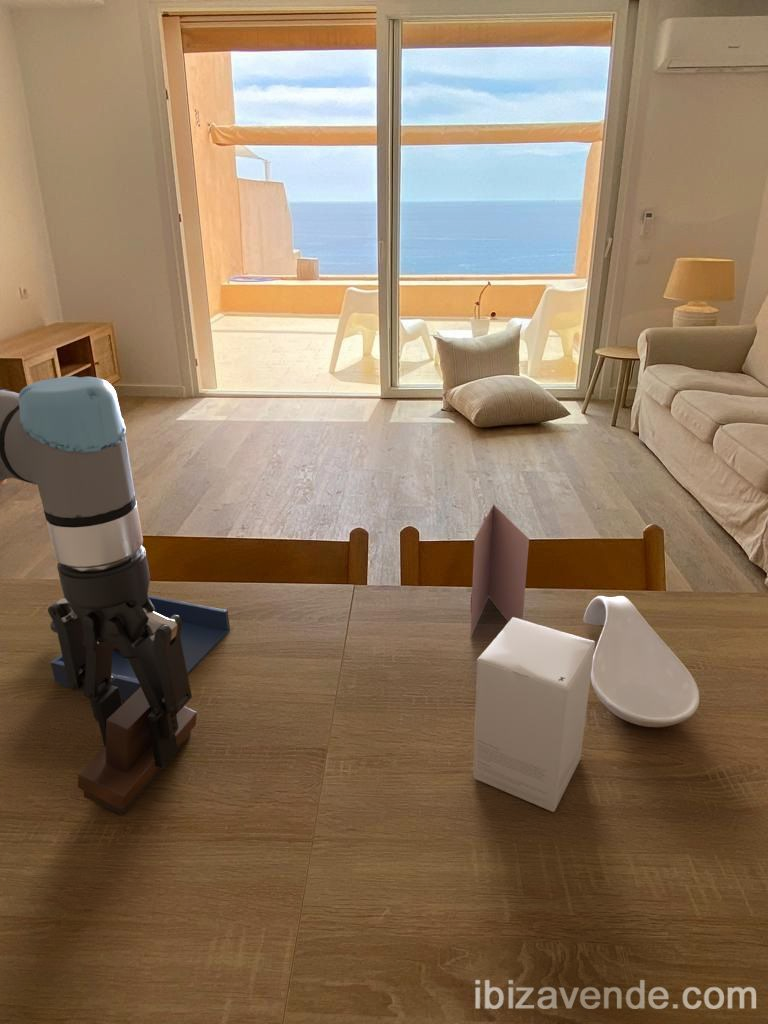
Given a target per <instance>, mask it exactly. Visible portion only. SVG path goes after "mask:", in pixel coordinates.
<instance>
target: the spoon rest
mask: <svg viewBox="0 0 768 1024" xmlns="http://www.w3.org/2000/svg"><path fill="white" fill-rule="evenodd" d="M582 620H583V623H584V624H585V625H589V626H603V628H602V631H601V634H600V636H599V639H598V641H597V644H596V647H595V648H594V655H593V663H592V670H591V678H590V682H591V684H592V689H593V690H594V693H595V695H596V696H597V698H598V700H599V701H600V702H601V703H602V705H603V706H604V707H605V708H606V709H607V710H608V711H610V712H611V713H612V714H613V715H615V716H617V717H618V718H619V719H621V720H623V721H626V722H628V723H631V724H634V725H637V726H640V727H641V726H642V727H647V728H665V727H669V726H673V725H677V724H680V723H682V722H684V721H686V720H688V719H689V718H690V717H692V716H693V715H694V714H695V713H696V712H697V710H698V708H699V705H700V691H699V688H698V685H697V682H696V680H695V679H694V676H692V674H691V671H689V670H688V668H687V667H686V665H684V663H683V662H682V661H681V660H680V658H679V657H678V656H677V655H676V654H675V652H674V651H673V650H672V649H671V648H670V647H669V646H668V644H666V643H665V642H664V640H663V639H662V638H661V637H660V635H658V634H657V632H656V631H655V630H654V629H653V628H652V627H651V625H650V624H649V623H648V622H647V621H646V619H645V618H644V616H642V614H641V613H640V612H639V610H638V609H637V607H635V605H634V603H632V601H631V600H630V599H628V597H626V596H624V595H618V596H610V597H609V596H605V595H598V596H595V597H594V598H593V599H592V600H591V601H590V603H589V604H588V605H587V608H586V610H585V613H584V615H583V619H582Z"/></svg>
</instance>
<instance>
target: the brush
mask: <svg viewBox="0 0 768 1024" xmlns="http://www.w3.org/2000/svg"><path fill="white" fill-rule="evenodd" d="M150 710H151V708H150V706H149V703H148V701H147V699H146V697H145V695H144V693H143V690H142V688H141V687H140V688H139V689H138V690H137V691H136V692H135V693H134V694H133V695H132V696H131V697H130V698H129V699H128V700H127V701H126V702H125V701H124V702H123V703H122V705H121V706H120V707H119V708H118V709H117V710H116V711H115V712H114V713H113V714H112V715H111V716H110V717H109V718H108V719H107V721H106V746H105V747H104V746H103V748H102V749H101V750H99V752H98V753H97V754H96V755H95V756H94V757H93V758H92V759H91V760H90V761H89V762H88V763H87V764H86V765H85V766H83V768H82V769H81V770H80V771H79V772H78V773H77V788H78V789H80V790H82V791H83V798H85V799H87V800H89V801H91V802H93V803H95V804H98V805H99V806H102V807H103V808H106V809H107V810H110V811H111V812H113V813H115V814H117V815H120V816H124V815H125V814H126V813H127V812H128V810H129V809H130V808H131V807H132V806H133V805H134V803H135V802H136V801H137V800H138V799H139V797H141V795H142V794H143V793H144V792H145V791H146V789H147V788H148V787H149V786H150V785H151V783H152V782H153V781H154V780H155V779H156V777H157V776H158V775H159V774H160V773H161V772H162V770H164V768H165V767H166V766H167V764H169V762H170V761H171V760H172V759H173V758H174V756H175V755H176V754H177V753H178V752H179V750H180V749H181V748H182V747H183V746H184V745H185V744H186V742H187V741H189V739H190V738H191V734H192V733H191V732H192V730H193V729H194V728H195V727H196V724H197V716H198V715H197V714H198V712H197V711H195V710H193V709H191V708H188V707H187V706H184V707H183V708H182V709H181V710H180V711H179V712H178V713H177V720H178V726H179V727H178V730H177V732H176V733H175V737H176V742H177V748H178V750H177V751H176V752H175V753H174V755H173V756H172V757H171V758H170V759H169V761H168V762H167V763H166V764H165V765H164V766H163V768H160V767H157V766H156V764H155V759H154V754H153V749H152V744H151V739H150V734H149V729H148V724H147V719H146V715H147V714H148V712H149V711H150Z"/></svg>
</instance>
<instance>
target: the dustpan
mask: <svg viewBox="0 0 768 1024" xmlns="http://www.w3.org/2000/svg"><path fill="white" fill-rule="evenodd" d="M148 597H149V599H150V601H151V603H152V604H153V606H154V608H155V612H156V613H158V614H160V615H162V616H164V617H166V618H168V619H169V618H170V617H171V616H173V615H178V616H179V617H180V618H181V619H182V628H181V633H180V639H181V644H182V649H183V654H184V659H185V664H186V669H187V675H188V676H189V674H190V673H191V672H192V671H193V670H194V669H195V668H196V667H197V666H198V665H199V664H200V663H201V661H203V660H204V659H205V657H206V656H207V655H208V654H209V653H210V652H211V651H212V650H213V649H214V648H215V647H216V646H217V645H218V644H219V643H220V642H221V641H222V640H223V639H224V637H225V636H226V635H227V634H228V633H229V632H230V631H231V626H230V619H229V610H228V609H223V608H217V607H212V606H207V605H201V604H196V603H191V602H185V601H180V600H176V599H170V598H165V597H161V596H160V597H159V596H154V595H149V594H148ZM50 630H51V631H52V632H53V633H55V634H58V633H57V628H56V626H55V624H54V622H53V620H52V621H51V622H50ZM50 667H51V670H52V675H53V678H54V682H55V683H58V685H59V686H62V687H66V688H70V687H69V684H68V680H67V675H66V670H65V666H64V661H63V656H62V653H61V654H59V655H58V656H57V657H55V658H54V659H52V661H50ZM81 671H82V670H81V669H80V670H79V673H80V672H81ZM111 677H113V678H112V679H111V680H113V679H114V678H115V680H114V681H113V682H112V683H111V684H110V685H109V686H107V687H108V689H109V688H110V687H111V686H115V687H118V689H119V694H120V699H121V702H124V703H125V702H126V701H127V700H128V699H129V698H130V697H131V696H132V695H133V694H134V693H135V692H136V691H137V690H138V689H139V688H140V687H141V686H140V684H139V682H138V680H137V677H136V675H135V673H134V671H133V669H132V666H131V664H130V662H129V660H128V658H123V657H122V655H121V653H120V651H119V650H116V649H114V648H113V656H112V669H111ZM70 689H71V688H70ZM78 691H82V690H81V689H79V690H78ZM82 692H83V691H82Z"/></svg>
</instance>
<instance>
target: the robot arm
mask: <svg viewBox="0 0 768 1024" xmlns="http://www.w3.org/2000/svg"><path fill="white" fill-rule="evenodd" d="M126 432H127V427H126V423H125V421H124V418H123V417H122V413H121V409H120V405H119V401H118V395H117V392H116V390H115V388H114V387H113V386H112V384H111V383H109V381H107V380H105V379H103V378H101V377H96V376H71V375H70V376H60V377H54V378H48V379H43V380H39V381H36V382H33V383H30V384H27V385H26V386H25V387H23V388H22V389H21V390H20V392H19V393H18V392H15V391H11V390H9V389H6V388H0V482H2V481H4V480H9V479H14V480H18V481H21V482H24V483H25V482H26V483H29V484H32V485H37V488H38V493H39V496H40V500H41V504H42V510H43V513H44V517H45V521H46V526H47V530H48V531H47V532H48V535H49V539H50V544H51V545H50V546H51V548H52V553H53V559H55V560H56V561H57V564H56V568H57V572H58V577H59V580H60V585H61V590H62V593H63V597H62V598H60V599H58V600H57V601H56V602H54V603H52V604H51V605H50V606H48V607H47V612H48V614H49V616H50V618H51V620H52V621H53V622H54V624H55V626H56V628H57V633H56V634H57V637H58V641H59V647H60V651H61V654H62V656H63V661H64V666H65V670H66V675H67V680H68V684H69V687H70V689H71V690H72V691H74V692H77V691H81V690H82V692H84V696H85V697H86V698H87V699H88V700H89V702H90V706H91V710H92V714H93V717H94V719H95V721H97V722H98V725H99V729H100V733H101V738H102V742H103V748H104V747H105V746H106V721H107V719H108V718H109V717H110V716H111V715H112V714H113V713H114V712H115V711H116V710H117V709H118V708H119V707H120V706H121V705H122V704H123V703H122V701H121V699H120V694H119V689H118V687H115V686H111V687H110V688H109V689H108V687H107V686H109V685H110V684H111V683H112V682H113V681H114V680H115V678H114V679H113V680H111V679H112V678H113V677H111V669H112V656H113V644H115V645H117V647H118V649H119V651H120V653H121V655H122V657H123V658H128V660H129V662H130V664H131V666H132V669H133V671H134V673H135V675H136V677H137V680H138V682H139V684H140V686H141V688H142V690H143V693H144V695H145V697H146V699H147V701H148V703H149V706H150V708H151V710H150V711H149V712H148V714H147V715H146V719H147V724H148V729H149V734H150V739H151V744H152V749H153V754H154V759H155V764H156V766H157V767H160V768H163V766H164V765H165V764H166V763H167V762H168V761H169V759H170V758H171V757H172V756H173V755H174V753H175V752H176V751H177V750H178V748H177V742H176V737H175V733H176V732H177V730H178V727H179V726H178V720H177V713H178V712H179V711H180V710H181V709H182V708H183V707H186V705H187V703H188V702H190V701H191V699H192V697H193V696H192V690H191V685H190V680H189V674H188V675H187V669H186V664H185V659H184V654H183V649H182V644H181V639H180V633H181V628H182V619H181V618H180V617H179V616H178V615H173V616H171V617H170V618H169V619H168V618H166V617H164V616H162V615H160V614H158V613H156V612H155V608H154V606H153V604H152V603H151V601H150V599H149V597H148V595H149V587H150V583H151V574H150V569H149V562H148V557H147V551H146V548H145V547H144V546H143V543H144V537H143V532H142V526H141V519H140V515H139V509H138V503H137V499H136V490H135V485H134V477H133V472H132V466H131V460H130V452H129V448H128V442H127V436H126V435H127V433H126ZM80 669H81V670H82V671H81V672H80V673H79V670H80ZM69 687H68V688H69ZM79 689H81V690H79ZM178 751H179V750H178ZM178 751H177V752H178ZM174 756H175V755H174ZM174 756H173V757H174ZM173 757H172V758H173ZM169 762H170V761H169ZM169 762H168V763H169ZM168 763H167V764H168ZM167 764H166V765H167ZM163 769H164V768H163Z"/></svg>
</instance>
